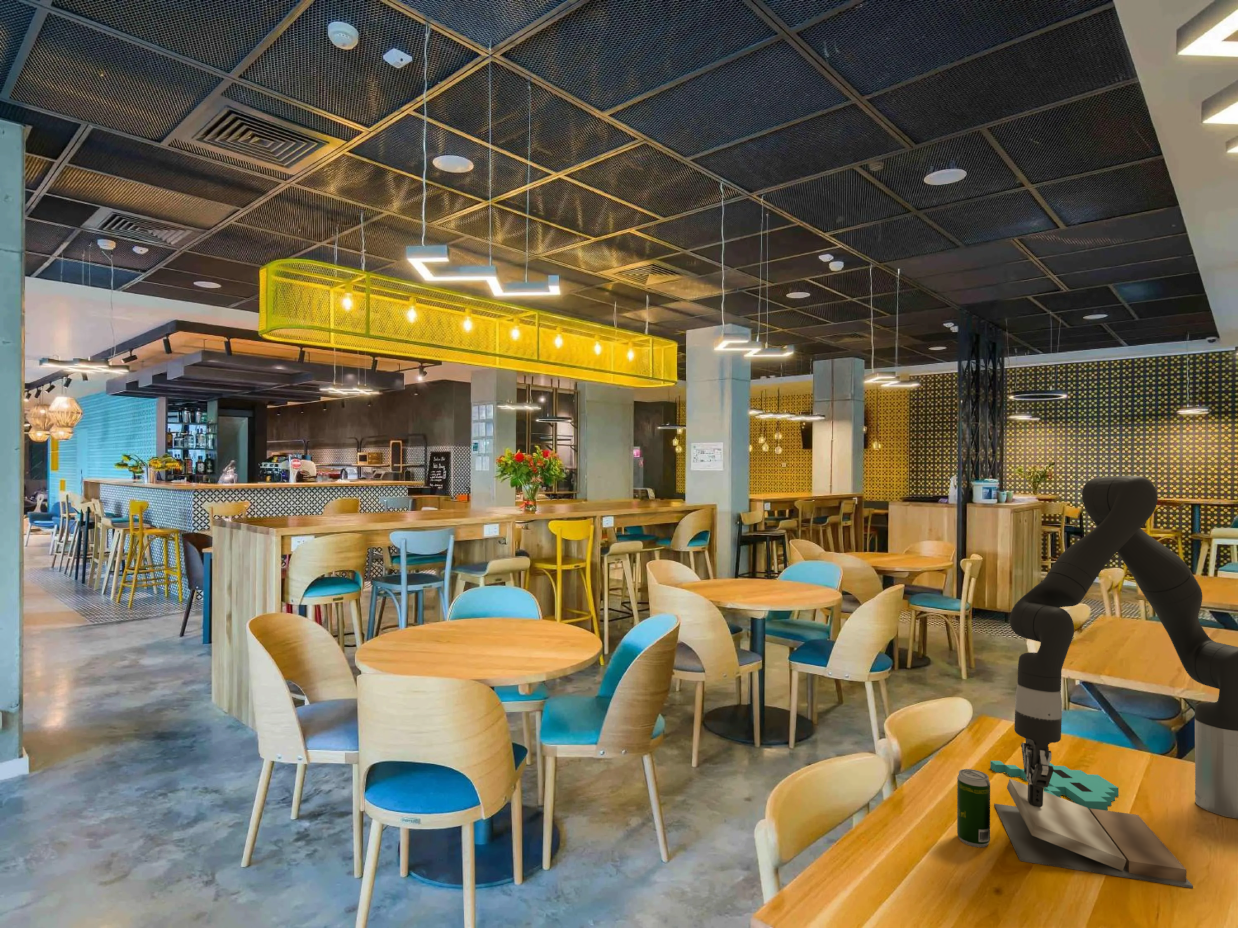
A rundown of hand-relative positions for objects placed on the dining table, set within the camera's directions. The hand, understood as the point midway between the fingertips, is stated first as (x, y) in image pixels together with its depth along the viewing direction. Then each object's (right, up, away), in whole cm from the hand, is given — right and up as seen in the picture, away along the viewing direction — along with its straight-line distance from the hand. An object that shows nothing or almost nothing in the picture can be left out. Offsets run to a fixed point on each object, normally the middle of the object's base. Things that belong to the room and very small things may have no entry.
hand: (1034, 804), depth 131 cm
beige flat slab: (+4, -3, -1) cm, 5 cm away
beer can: (-13, -6, -2) cm, 14 cm away
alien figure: (+18, -7, +20) cm, 28 cm away
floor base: (+7, -6, -2) cm, 10 cm away
